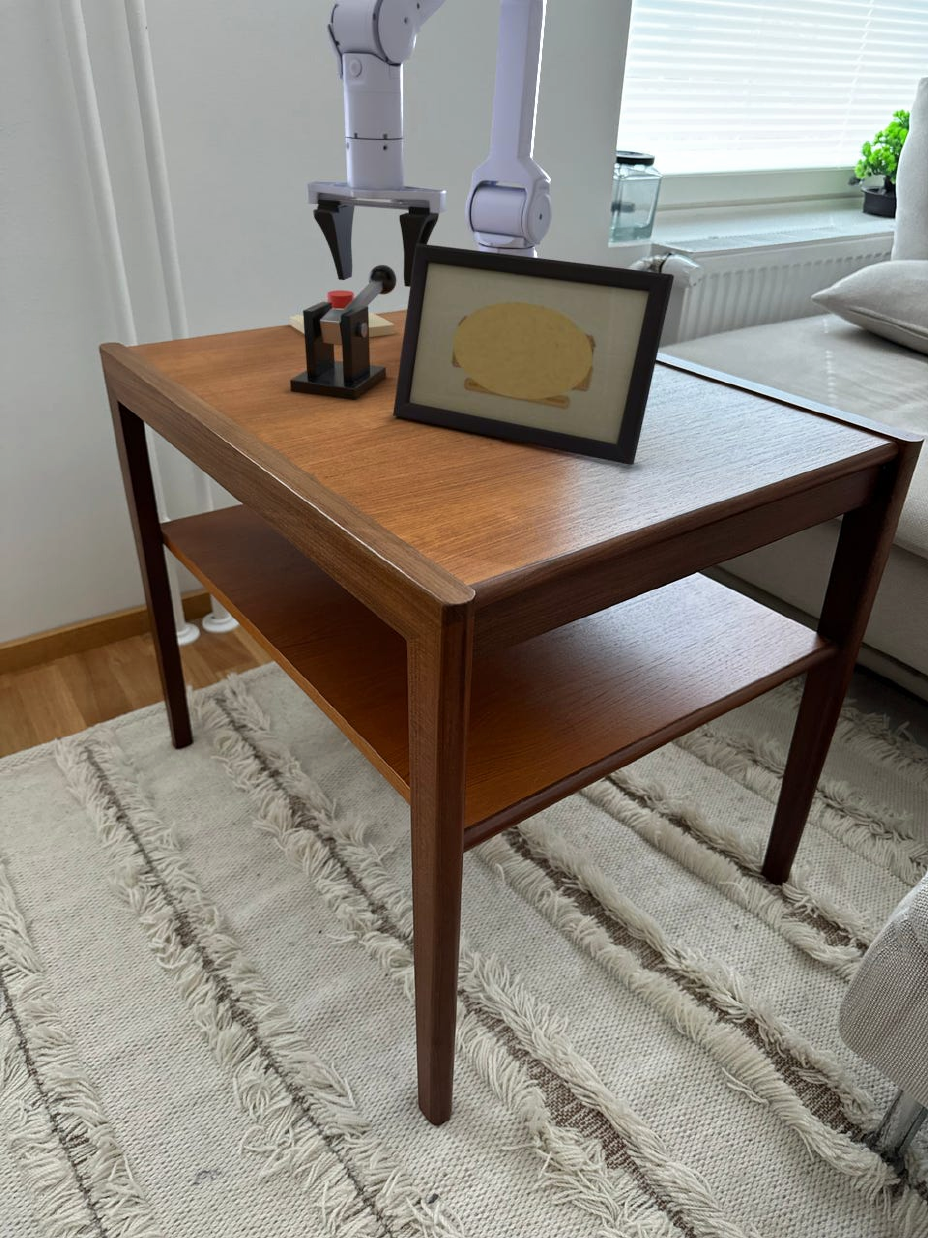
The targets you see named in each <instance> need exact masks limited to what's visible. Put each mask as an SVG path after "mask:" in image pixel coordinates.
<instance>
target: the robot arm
mask: <svg viewBox="0 0 928 1238" xmlns="http://www.w3.org/2000/svg"><path fill="white" fill-rule="evenodd" d="M445 2H446V0H336V1H335V3H334V4H333V6H332V9H331V11H330V17H329V23H327V24H326V31H327V32H326V33H327V37H328V42H329V44H330V47H331V49H332V51H333V54H334V55H335V59H336V67H337V76H339V81H340V82H342V83H343V86H342V87H343V109H344V110H343V111H344V136H345V161H346V182H340V181H339V182H337V181H318V180H317V181H309V182H307V183H306V188H307V189H306V191H307V192H306V193H307V203H308V204H311V205H317V206H316V208H315V209H313V211H312V214H313V218H314V220H315V222H316V223H317V225H318V227H319V228H320V231H321V232H322V234H323V236H324V239H325V240H326V242H327V243H326V244H327V245H328V248H329V250H330V253H331V257H332V260H333V263H334V267H335V271H336V274H337V275H336V276H337V279H338V280H339V281H345V280H347V279H350V278H352V276H353V251H352V234H353V223H354V222H353V221H354V214H355V208H356V207H365V208H377V209H379V208H380V209H389V210H404V211H408V212H405V213H402V214H399V216H398V217H399V218H398V220H399V224H400V230H401V237H402V244H403V282H404V287H405V288H406V287H407V288H410V285H411V277H412V270H413V263H414V255H415V248H416V243H419V244H427V245H428V243H429V240H430V238H431V235H432V234H433V231H434V229H435V227H436V225H437V223H438V220H439V217H440V214H441V213H444V212H446V209H447V208H446V203H447V191H446V190H444V189H433V188H424V187H416V186H409V185H404V183H405V182H404V181H405V180H404V173H405V171H404V83H403V82H404V74H403V73H404V71H403V70H404V68H403V67H404V65H403V63H404V62H405V61H406V60H409V59H410V58H411V57H412V54H413V53H414V49H415V45H416V42H417V41H416V40H417V36H418V34H419V33H420V31H421V28H422V26H423V25H425V23H426V22H427V21H428V20H429V19H430V18H431V17H432V16H433V15H434V14H435V13H436V12H437V11H438V10H439V9H440V8H441V7H442V6H443V5H444V3H445ZM499 3H500V5H499V6H500V7H499V21H498V36H497V47H496V48H497V49H496V61H495V62H496V65H495V78H494V91H493V104H492V105H493V106H492V119H491V121H492V122H491V134H490V146H489V147H490V148H489V149H490V150H489V156H488V157H487V158H486V159H485V160H484V161H483V162H482V163H480V165H478V167H476V168H475V169H474V170H473V172H472V173H471V183H470V189H469V192H468V194H467V195H468V196H467V197H466V201H465V207H464V218H465V222H466V226H467V229H468V230H469V232H470V234H472V235H473V242H474V243H475V242H476V243H478V249H477V251H485V252H493V253H501V254H509V255H517V256H526V257H534V258H538V254H537V252H536V249H535V248H536V246H538V245H540V244H541V242H542V240H543V239H544V238H545V236H547V233H548V231H549V229H550V227H551V223H552V217H553V207H552V206H553V205H552V201H551V178H550V176H549V175H548V174H547V173H546V172H545V171H544V169H542V168H541V166H539V164H538V163H537V162H536V161H535V160H534V159H533V151H534V139H535V129H536V120H537V119H536V118H537V108H538V98H539V97H538V96H539V86H540V74H541V64H542V51H543V50H542V49H543V41H544V29H545V20H546V19H545V18H546V7H547V0H499ZM499 182H501V183H510V184H511V183H512V184H518V185H520V186H522V187H519V186H509V185H502V184H501V185H499V184H498V183H499ZM364 199H365V200H364ZM375 200H376V201H375ZM377 200H386V201H377ZM387 200H390V202H388V201H387Z"/></svg>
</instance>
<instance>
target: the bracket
mask: <svg viewBox="0 0 928 1238" xmlns="http://www.w3.org/2000/svg"><path fill="white" fill-rule="evenodd" d="M322 301H323V302H322ZM322 301H320V302H321V303H318V302H317V303H318V304H317V303H316V304H314V305H312V306H309V307H308V308H305V309H303V310H302V315H303V319H304V333H303V335H304V346H305V347H304V349H305V362H306V363H305V365H306V369H305V371H302V372H301V373H299V374H297V375H296V376H294V377H293V378H291V379H290V380H289V385H290V392H293V393H301V394H307V395H314V396H320V397H322V396H323V397H328V398H335V399H344V400H351V401H356V400H357V399H358V398H360V397H361V396H363V395H364V394H365V393H367V392H368V391H370V390H371V389H373V388H374V387H375V386H377V385H378V384H380V383H381V382H382V381H384V380H385V379H386V378H387V367H386V366H381V365H374V364H371V352H370V350H371V349H370V337H369V313H368V311H369V305H368V306H362V305H359V306H357V307H355V308H353V309H351V310H349V311H347V312H345V313H344V314H342V315H341V331H342V345H341V351H342V354H341V355H342V360H336V359H335V344H326V343H323V340H322V334H321V327H320V319H321V318H322V317H323V316H324V315H325V314H326V313H327V312H328V311H329V310H330V309H332V302H325V300H322Z"/></svg>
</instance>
